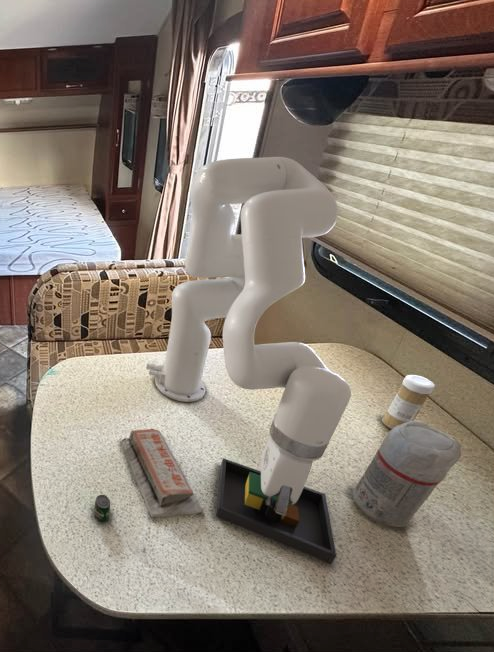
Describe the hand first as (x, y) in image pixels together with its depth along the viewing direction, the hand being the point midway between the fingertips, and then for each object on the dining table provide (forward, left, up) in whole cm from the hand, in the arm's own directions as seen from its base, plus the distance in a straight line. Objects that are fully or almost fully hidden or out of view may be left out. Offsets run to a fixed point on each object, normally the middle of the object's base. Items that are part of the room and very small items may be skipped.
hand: (268, 504), depth 69 cm
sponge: (-1, 0, 0) cm, 1 cm away
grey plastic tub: (+18, +10, -2) cm, 21 cm away
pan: (0, 0, -2) cm, 2 cm away
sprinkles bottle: (+26, +37, -2) cm, 46 cm away
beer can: (-27, -15, -2) cm, 31 cm away
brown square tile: (+3, 0, -1) cm, 3 cm away
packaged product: (-20, -2, -2) cm, 20 cm away
